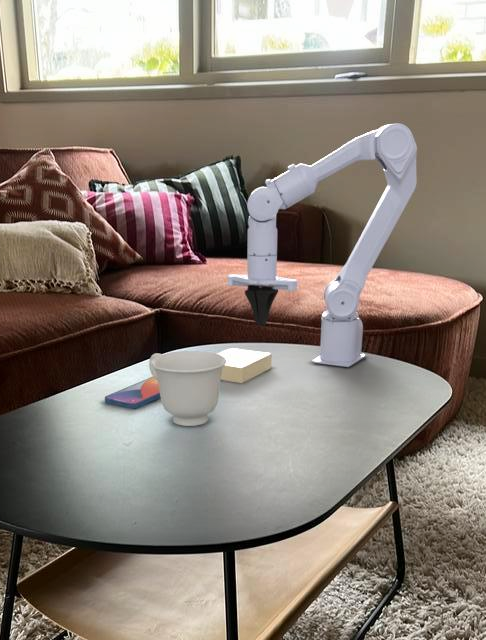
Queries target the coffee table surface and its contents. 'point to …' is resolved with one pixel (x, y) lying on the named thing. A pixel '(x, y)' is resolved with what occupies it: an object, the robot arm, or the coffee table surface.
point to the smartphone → (135, 394)
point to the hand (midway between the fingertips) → (261, 324)
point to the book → (244, 364)
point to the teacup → (188, 384)
